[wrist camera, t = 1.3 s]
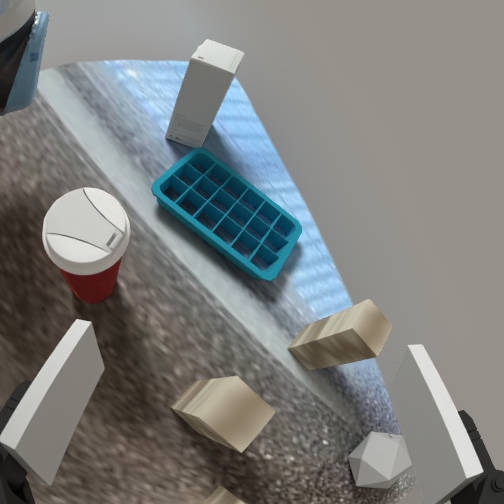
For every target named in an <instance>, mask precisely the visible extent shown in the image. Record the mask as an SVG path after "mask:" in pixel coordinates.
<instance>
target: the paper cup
mask: <svg viewBox="0 0 504 504" xmlns="http://www.w3.org/2000/svg"><path fill="white" fill-rule="evenodd" d="M42 235H43V244H44V247H45V250H46V253H47V254H48V256H49V258H50V259H51V260H52V261H53V262H54V264H56V265H57V266H58V267H59V269H60V271H61V273H62V274H63V276H64V278H65V279H66V281H67V283H68V284H69V286H70V288H71V289H72V291H73V292H74V294H75V295H76V296H77V297H78V298H79V299H81V300H82V301H84V302H87V303H99V302H102V301H104V300H105V299H107V298H108V297H109V296H110V294H111V293H112V291H113V289H114V286H115V283H116V279H117V274H118V270H119V266H120V262H121V258H122V255H123V254H124V252H125V250H126V248H127V245H128V242H129V238H130V224H129V220H128V217H127V215H126V213H125V211H124V209H123V208H122V207H121V205H120V204H119V203H118V201H117V200H116V199H115V198H114V197H113V196H111V195H110V194H108V193H107V192H105V191H102V190H99V189H96V188H81V189H77V190H74V191H71V192H69V193H67V194H65V195H63V196H62V197H60V198H59V199H57V200H56V201H55V202H54V203H53V205H52V206H51V207H50V209H49V211H48V212H47V214H46V216H45V218H44V225H43V232H42Z"/></svg>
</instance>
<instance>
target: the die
mask: <svg viewBox="0 0 504 504" xmlns="http://www.w3.org/2000/svg"><path fill="white" fill-rule="evenodd" d="M348 460H349V463H350V467H351V470H352V473H353V477H354V480H355V483H356V486H360V487H372V488H386V489H388V488H389V487H390V486H391V485H392V484H394V483H395V482H396V481H397V480H398V479H399V478H400V477H401V476H402V475H403V474H404V473H405V472H406V471H407V470H408V469H409V468H410V467H411V466H412V463H411V460H410V456H409V453H408V450H407V447H406V444H405V442H404V439H403V437H402V436H401V435H393V434H386V433H379V432H373V431H371V433H370V434H369V435H368V436H367V437H366V438H365V439H364V440H363V441H362V442H361V443H360V444H359V445H358V446H357V448H356V449H355V450H354V451H353V452H352V453H351V454H350V455H349V456H348Z"/></svg>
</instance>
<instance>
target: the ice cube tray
mask: <svg viewBox="0 0 504 504" xmlns="http://www.w3.org/2000/svg"><path fill="white" fill-rule="evenodd" d="M193 165H198V166H200V167H202V168H203V169H205V170H206V172H205V173H204V174H202V173H200V172H199V171H198V170H196V169H195V168H194V167H192V166H193ZM182 175H184V176H185V177H187V178H188V179H189V180H191V181H192V182H193V183H194V184H193V185H191V186H190V187H189V186H188V185H187V184H185V183H184V182H183V181H181V180H180V179H179V178H180V177H181V176H182ZM210 175H213V176H214V177H215V178H217V179H218V180H219V181H220V182H222V183H223V185H222V186H221V187H219V186H217V185H216V184H215V183H214V182H212V181H211V180H210V179H208V177H209V176H210ZM226 186H227V187H228V188H230V189H231V190H232V191H233V192H235V193H236V194H237V195H239V196H240V198H239V199H238V200H236V199H234V198H233V197H232V196H230V195H229V194H228V193H227V192H225V191H224V190H223V189H224V188H225V187H226ZM169 187H171V188H172V189H174V190H175V191H176V192H177V193H179V194H180V195H181V196H180V197H179V198H178V199H177V200H176V201H175V202H173V201H172V200H170V199H169V198H168V197H167V196H165V195H164V194H163V192H164V191H166V190H167V189H168V188H169ZM197 187H200V188H201V189H202V190H204V191H205V192H206V193H208V194H209V195H210V196H211V197H210V198H209V199H208V200H206V199H205V198H204V197H202V196H201V195H200V194H198V193H197V192H196V191H194V190H195V189H196V188H197ZM151 190H152V193H153V195H154V196H156V197H157V202H158V203H159V205H160V206H162V207H163V208H164V209H165V210H167V211H168V212H169V213H170V214H172V215H173V216H174V217H175V218H177V219H178V220H179V221H181V222H182V223H183V224H184V225H186V226H187V227H188V228H189V229H191V230H192V231H193V232H195V233H196V234H197V235H198V236H200V237H201V238H202V239H204V240H205V241H206V242H207V243H209V244H210V245H211V246H213V247H214V248H215V249H216V250H218V251H219V252H220V253H222V254H223V255H224V256H225V257H227V258H228V259H229V260H231V261H232V262H233V263H235V264H236V265H237V266H238V267H240V268H241V269H242V270H244V271H245V272H246V273H248V274H249V275H250V276H251V277H254V278H256V279H262V280H266V281H271V280H273V279H275V278H276V276H277V274H278V273H279V271H280V269H281V268H282V266H283V264H284V262H285V261H286V259H287V257H288V256H289V254H290V252H291V250H292V249H293V247H294V245H295V243H296V242H297V240H298V238H299V236H300V235H301V233H302V226H301V225H300V223H299V222H298V221H297V220H296V219H295V218H293V217H292V216H291V215H290V214H289V213H287V212H286V211H285V210H284V209H282V208H281V207H280V206H279V205H277V204H276V203H275V202H273V201H272V200H271V199H270V198H268V197H267V196H266V195H265V194H263V193H262V192H261V191H259V190H258V189H257V188H256V187H254V186H253V185H252V184H250V183H249V182H248V181H247V180H245V179H244V178H243V177H241V176H240V175H239V174H237V173H236V172H235V171H234V170H232V169H231V168H230V167H228V166H227V165H226V164H224V163H223V162H222V161H220V160H219V159H218V158H216V157H215V156H214V155H212V154H211V153H210V152H208V151H207V150H206V149H204V148H200V147H198V148H194V149H192V150H191V151H190V152H189V153H188V154H186V155H185V156H184V157H183V158H182V159H180V160H179V161H178V162H177V163H176V164H174V165H173V166H172V167H171V168H170V169H169V170H167V171H166V172H165V173H164V174H163V175H162V176H160V177H159V178H158V179H157V180H156V181H155V182H154V183H153V185H152V189H151ZM242 198H243V199H244V200H245V201H246V202H248V203H249V204H250V205H252V206H253V207H254V208H255V209H257V210H256V212H255V213H252V212H251V211H250V210H249V209H247V208H246V207H245V206H243V205H242V204H241V203H240V202H239V201H240V200H241V199H242ZM185 199H186V200H188V201H189V202H190V203H192V204H193V205H194V206H195V207H197V208H198V209H199V210H198V211H197V212H196V213H195V214H194V215H193V217H192V216H191V215H190V214H188V213H187V212H186V211H184V210H183V209H182V208H181V207H179V205H180V204H181V203H182V202H183V201H184V200H185ZM214 199H215V200H217V201H218V202H219V203H221V204H222V205H223V206H224V207H226V208H227V209H228V210H229V211H228V212H227V213H226V214H224V213H223V212H222V211H220V210H219V209H218V208H216V207H215V206H214V205H213V204H211V202H212V201H213V200H214ZM258 211H259V212H260V213H262V214H263V215H264V216H266V217H267V218H268V219H269V220H271V221H272V224H271V225H270V226H269V225H268V224H266V223H265V222H264V221H263V220H261V219H260V218H259V217H257V216H256V215H255V214H256V213H257V212H258ZM202 212H203V213H204V214H206V215H207V216H208V217H210V218H211V219H212V220H213V221H215V222H216V223H217V225H216V226H215V227H214V228H213V230H212V231H210V230H209V229H207V228H206V227H205V226H204V225H202V224H201V223H200V222H198V221H197V220H196V218H197V217H198V216H199V215H200V214H201V213H202ZM230 212H232V213H233V214H235V215H236V216H237V217H239V218H240V219H241V220H242V221H244V222H245V223H246V225H245V226H244V227H243V228H242V227H241V226H240V225H238V224H237V223H236V222H235V221H233V220H232V219H231V218H229V217H228V216H227V215H228V214H229V213H230ZM275 224H276V225H277V226H278V227H279V228H281V229H282V230H283V231H284V233H285V235H286V238H284V237H283V236H281V235H280V234H279V233H278V232H276V231H275V230H274V229H273V226H274V225H275ZM219 225H220V226H221V227H222V228H224V229H225V230H226V231H228V232H229V233H230V234H231V235H233V236H234V237H235V239H234V240H233V242H232V243H231V244H230V246H229V245H228V244H227V243H225V242H224V241H223V240H222V239H220V238H219V237H218V236H216V235H215V234H214V233H213V232H214V231H215V230H216V229H217V227H218V226H219ZM247 225H249V226H250V227H251V228H253V229H254V230H255V231H256V232H258V233H259V234H260V235H262V236H263V237H262V238H261V240H260V241H259V240H258V239H256V238H255V237H254V236H252V235H251V234H250V233H249V232H247V231H246V230H245V228H246V226H247ZM237 239H238V240H239V241H240V242H242V243H243V244H244V245H246V246H247V247H248V248H249V249H251V250H252V253H251V254H250V256H249V257H248V259H246V258H245V257H243V256H242V255H241V254H240V253H238V252H237V251H236V250H234V249H233V248H232V247H231V246H232V245H233V244H234V242H235V241H236V240H237ZM265 239H267V240H268V241H269V242H270V243H272V244H273V245H274V246H276V247H277V248H278V251H277V252H276V254H275V253H274V252H273V251H272V250H270V249H269V248H268V247H267V246H265V245H264V244H263V241H264V240H265ZM255 253H256V254H257V255H258V256H260V257H261V258H262V259H264V260H265V261H266V262H267V263H269V265H268V267H267V269H266V270H265V272H264V271H262V270H260V269H259V268H258V267H256V266H255V265H254V264H253V263H251V262H250V261H251V259H252V258H253V256H254V255H255Z"/></svg>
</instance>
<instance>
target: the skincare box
mask: <svg viewBox="0 0 504 504" xmlns="http://www.w3.org/2000/svg"><path fill="white" fill-rule="evenodd" d="M243 57H244V52H241V51H239V50H236V49H234V48H231V47H228V46H225V45H222V44H220V43H217V42H214V41H211V40H209V39H206V41H205V42H204V43H203V44H202V45H201V46H199V47H198V50H197V51H196V52H195V53H194V54H193V56H192V57H191V59H190V62H189V65H188V68H187V71H186V73H185V76H184V79H183V82H182V85H181V88H180V91H179V94H178V97H177V100H176V103H175V107H174V110H173V113H172V116H171V120H170V123H169V126H168V130H167V133H166V136H165V138H167V139H170V140H172V141H175V142H178V143H180V144H183V145H186V146H189V147H191V148H198V147H200V148H202V145H203V143H204V141H205V139H206V136H207V134H208V132H209V130H210V128H211V125H212V123H213V121H214V119H215V117H216V114H217V112H218V110H219V108H220V106H221V104H222V102H223V100H224V97H225V95H226V93H227V91H228V89H229V87H230V85H231V83H232V81H233V78H234V76H235V74H236V72H237V70H238V68H239V65H240V63H241V61H242V59H243Z"/></svg>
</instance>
